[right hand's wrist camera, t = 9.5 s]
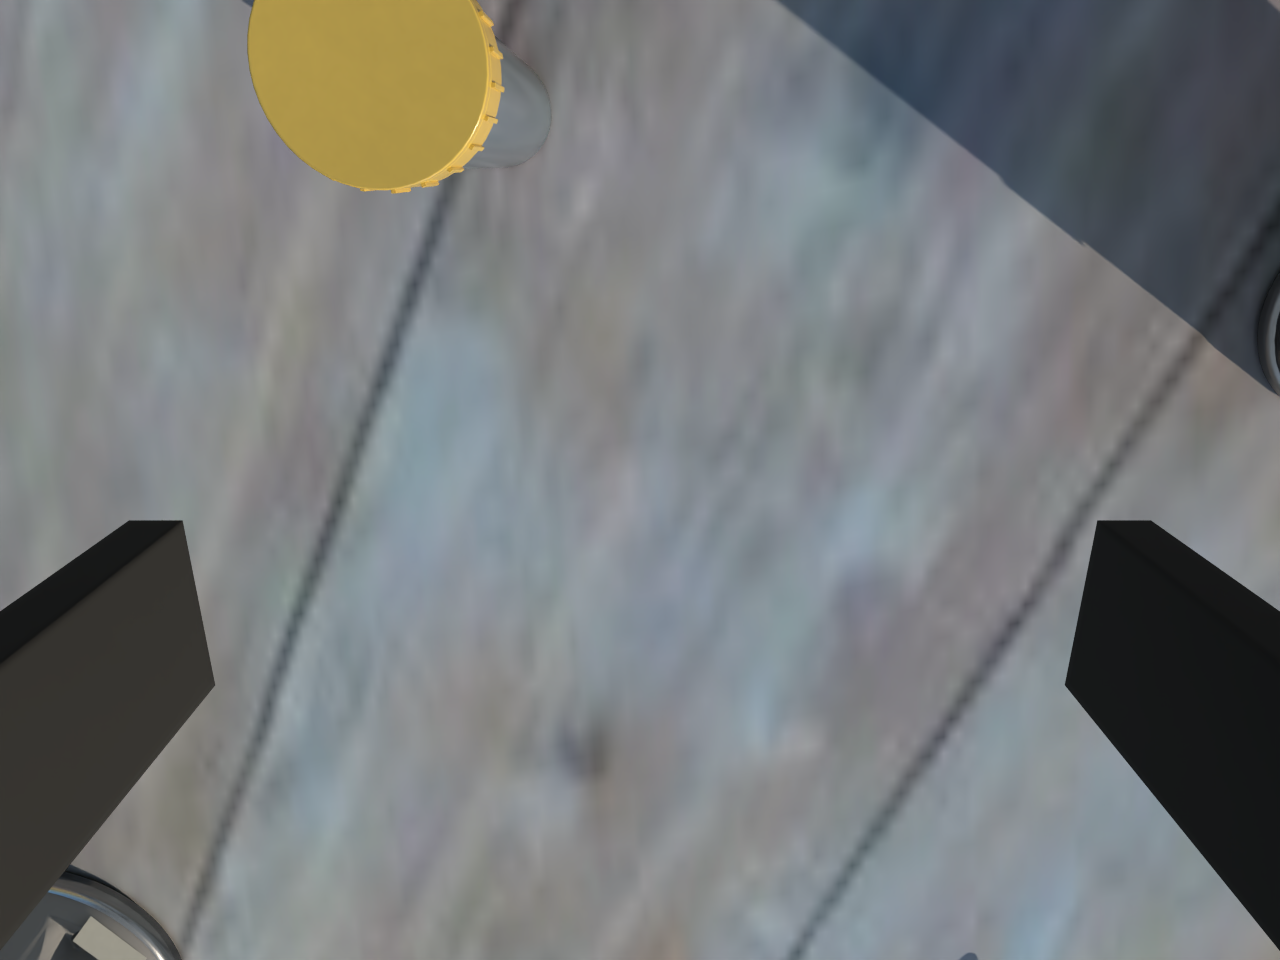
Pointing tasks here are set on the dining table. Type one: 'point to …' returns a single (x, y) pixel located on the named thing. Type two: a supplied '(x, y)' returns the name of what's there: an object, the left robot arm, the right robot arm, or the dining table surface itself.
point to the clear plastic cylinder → (515, 117)
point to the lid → (377, 85)
